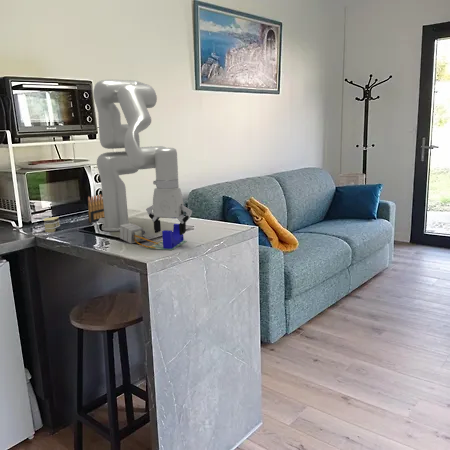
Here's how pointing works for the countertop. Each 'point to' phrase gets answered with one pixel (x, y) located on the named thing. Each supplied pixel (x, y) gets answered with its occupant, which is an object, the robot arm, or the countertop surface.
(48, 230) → the stacked layers on plate
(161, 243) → the header pad
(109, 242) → the countertop surface
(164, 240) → the cable clip
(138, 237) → the electrical component
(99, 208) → the ammunition clip
